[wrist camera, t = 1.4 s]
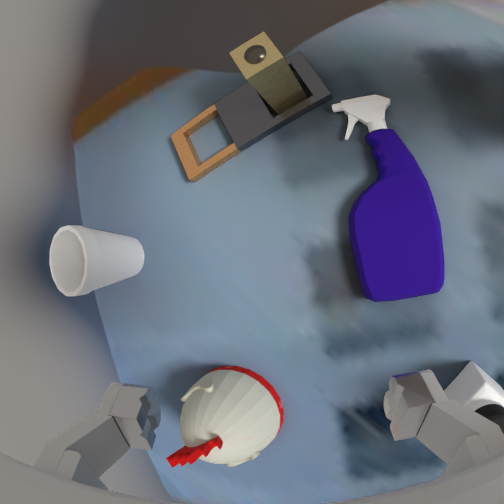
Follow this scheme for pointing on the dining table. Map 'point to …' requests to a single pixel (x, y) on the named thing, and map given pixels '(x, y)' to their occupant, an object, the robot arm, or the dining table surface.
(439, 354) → the dining table surface
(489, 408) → the medicine bottle
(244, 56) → the tan square peg
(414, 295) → the purple flat blob
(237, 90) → the peg insertion board
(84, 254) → the foam cup
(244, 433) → the kitchen timer
